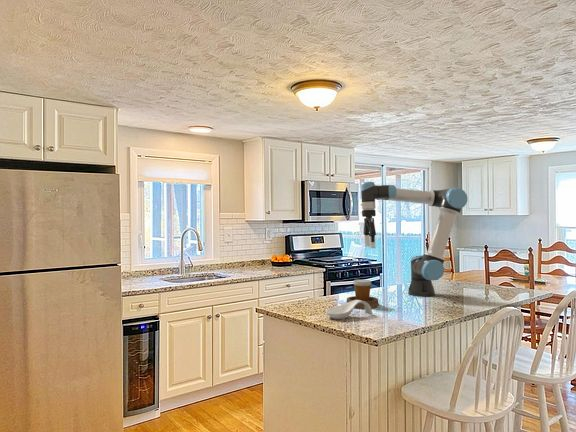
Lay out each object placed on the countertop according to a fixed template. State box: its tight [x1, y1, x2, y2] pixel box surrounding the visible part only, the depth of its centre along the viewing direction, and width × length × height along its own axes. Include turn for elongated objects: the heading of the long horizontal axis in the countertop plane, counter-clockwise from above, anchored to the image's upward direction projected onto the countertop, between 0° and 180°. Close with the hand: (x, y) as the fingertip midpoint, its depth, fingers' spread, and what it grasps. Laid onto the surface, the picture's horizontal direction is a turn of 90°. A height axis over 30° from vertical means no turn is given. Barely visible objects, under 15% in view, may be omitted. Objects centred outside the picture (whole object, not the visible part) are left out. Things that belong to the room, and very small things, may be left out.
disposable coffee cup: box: [352, 279, 372, 301], centre depth 230 cm, size 10×10×12 cm
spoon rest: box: [325, 300, 373, 320], centre depth 205 cm, size 24×12×7 cm, turn 119°
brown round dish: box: [346, 296, 380, 310], centre depth 229 cm, size 17×17×4 cm
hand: (370, 247), depth 246 cm, fingers open, 13 cm apart
